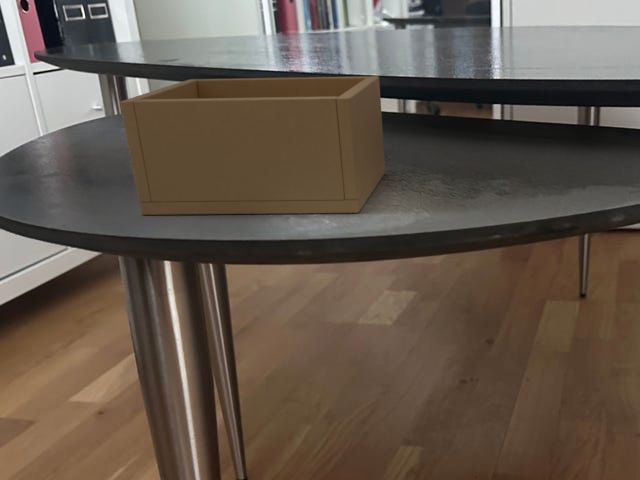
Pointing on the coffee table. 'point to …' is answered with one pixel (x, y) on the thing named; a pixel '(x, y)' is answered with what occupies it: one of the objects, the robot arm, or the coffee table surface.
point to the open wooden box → (256, 145)
